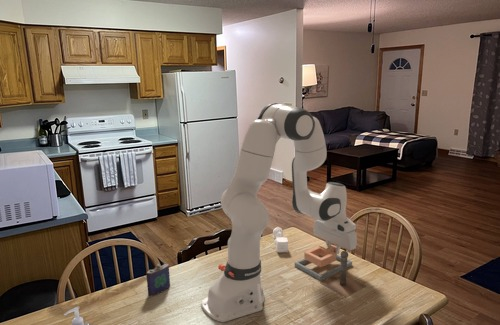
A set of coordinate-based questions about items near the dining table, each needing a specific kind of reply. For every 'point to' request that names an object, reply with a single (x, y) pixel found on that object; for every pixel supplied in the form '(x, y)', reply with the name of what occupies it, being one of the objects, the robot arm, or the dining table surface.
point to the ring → (326, 253)
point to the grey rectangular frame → (324, 275)
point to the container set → (280, 240)
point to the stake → (343, 280)
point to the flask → (158, 279)
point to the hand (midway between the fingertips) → (333, 251)
